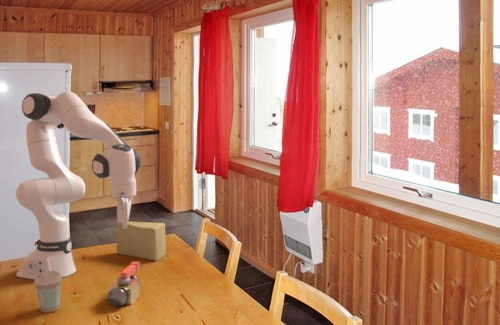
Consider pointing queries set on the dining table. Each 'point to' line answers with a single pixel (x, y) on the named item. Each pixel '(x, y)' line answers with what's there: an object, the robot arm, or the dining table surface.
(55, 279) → the coffee cup
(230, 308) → the dining table surface
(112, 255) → the dining table surface
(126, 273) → the lever
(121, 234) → the cheese
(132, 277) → the valve
